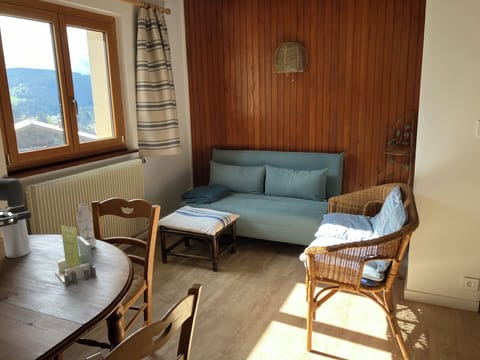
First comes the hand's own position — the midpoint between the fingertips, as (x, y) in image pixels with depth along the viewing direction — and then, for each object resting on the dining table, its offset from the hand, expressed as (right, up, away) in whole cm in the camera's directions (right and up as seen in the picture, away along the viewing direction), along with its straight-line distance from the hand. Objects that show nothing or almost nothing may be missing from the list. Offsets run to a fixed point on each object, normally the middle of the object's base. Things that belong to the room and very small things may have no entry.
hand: (27, 211), depth 136 cm
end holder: (+11, -25, +15) cm, 31 cm away
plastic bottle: (+7, -19, +38) cm, 43 cm away
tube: (+11, -25, +13) cm, 31 cm away
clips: (+15, -26, +8) cm, 31 cm away
